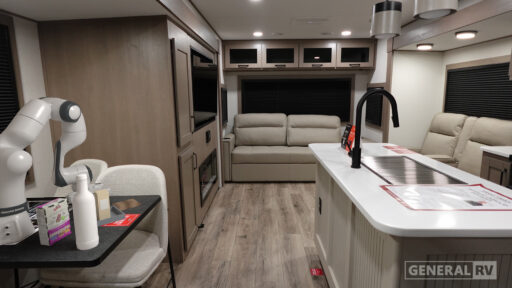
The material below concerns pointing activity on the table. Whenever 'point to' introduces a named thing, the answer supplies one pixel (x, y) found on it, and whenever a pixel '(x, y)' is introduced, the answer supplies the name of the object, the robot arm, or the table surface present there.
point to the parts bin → (112, 216)
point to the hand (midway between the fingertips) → (94, 197)
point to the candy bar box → (53, 221)
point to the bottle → (84, 215)
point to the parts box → (102, 204)
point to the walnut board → (126, 204)
